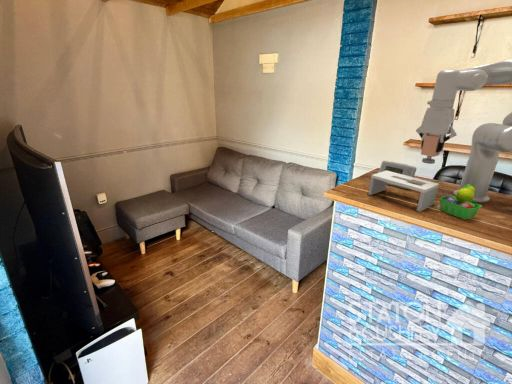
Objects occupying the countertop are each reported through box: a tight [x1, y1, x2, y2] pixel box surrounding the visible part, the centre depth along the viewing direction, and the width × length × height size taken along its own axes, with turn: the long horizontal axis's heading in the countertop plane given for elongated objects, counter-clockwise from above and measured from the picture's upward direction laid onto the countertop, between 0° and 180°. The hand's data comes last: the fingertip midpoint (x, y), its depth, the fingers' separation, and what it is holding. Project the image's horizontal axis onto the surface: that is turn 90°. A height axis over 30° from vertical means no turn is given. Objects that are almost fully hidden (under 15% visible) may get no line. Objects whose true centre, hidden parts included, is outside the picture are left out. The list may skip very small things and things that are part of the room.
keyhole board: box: [368, 170, 440, 213], centre depth 114 cm, size 12×22×9 cm, turn 36°
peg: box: [420, 134, 441, 165], centre depth 112 cm, size 5×5×11 cm
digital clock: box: [378, 160, 417, 190], centre depth 131 cm, size 16×9×11 cm, turn 31°
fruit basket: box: [439, 184, 483, 220], centre depth 101 cm, size 11×9×11 cm
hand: (431, 150), depth 112 cm, fingers closed on peg, 5 cm apart
